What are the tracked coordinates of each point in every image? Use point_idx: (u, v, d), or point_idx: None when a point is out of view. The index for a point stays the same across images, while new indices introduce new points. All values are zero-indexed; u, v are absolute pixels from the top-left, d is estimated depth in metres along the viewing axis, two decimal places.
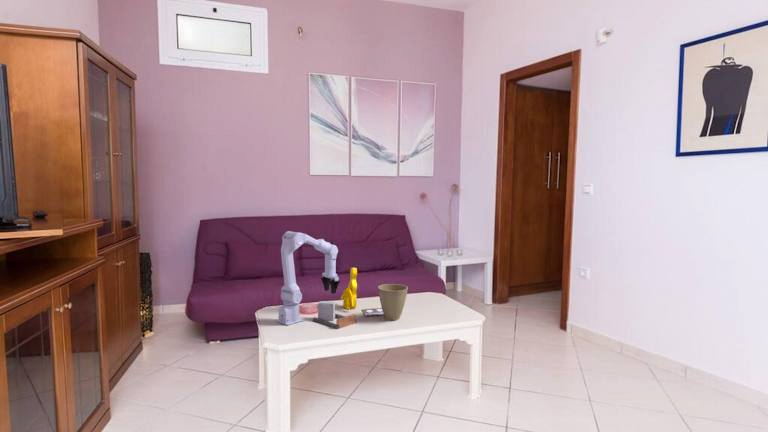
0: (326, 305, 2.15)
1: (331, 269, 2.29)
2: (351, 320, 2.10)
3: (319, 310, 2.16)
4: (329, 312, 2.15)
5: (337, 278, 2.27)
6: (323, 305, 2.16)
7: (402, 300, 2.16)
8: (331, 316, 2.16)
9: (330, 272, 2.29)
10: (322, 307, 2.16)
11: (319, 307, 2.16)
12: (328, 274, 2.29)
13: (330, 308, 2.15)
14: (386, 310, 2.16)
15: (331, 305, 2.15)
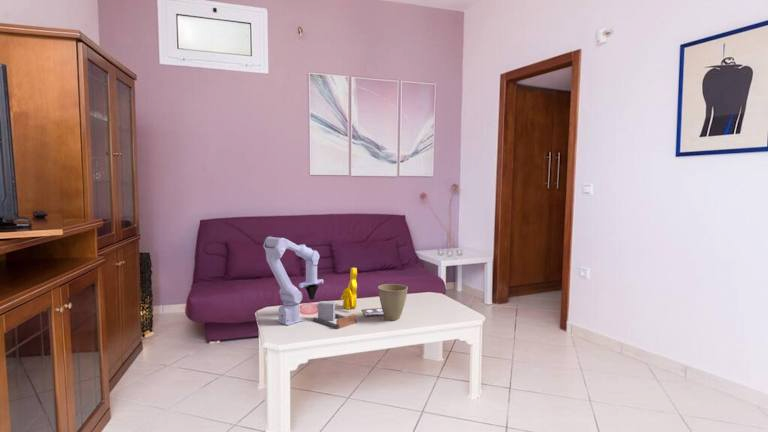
0: (326, 305, 2.15)
1: (306, 275, 2.23)
2: (351, 320, 2.10)
3: (319, 310, 2.16)
4: (329, 312, 2.15)
5: (300, 285, 2.19)
6: (323, 305, 2.16)
7: (402, 300, 2.16)
8: (331, 316, 2.16)
9: (306, 278, 2.23)
10: (322, 307, 2.16)
11: (319, 307, 2.16)
12: (306, 280, 2.25)
13: (330, 308, 2.15)
14: (386, 310, 2.16)
15: (331, 305, 2.15)
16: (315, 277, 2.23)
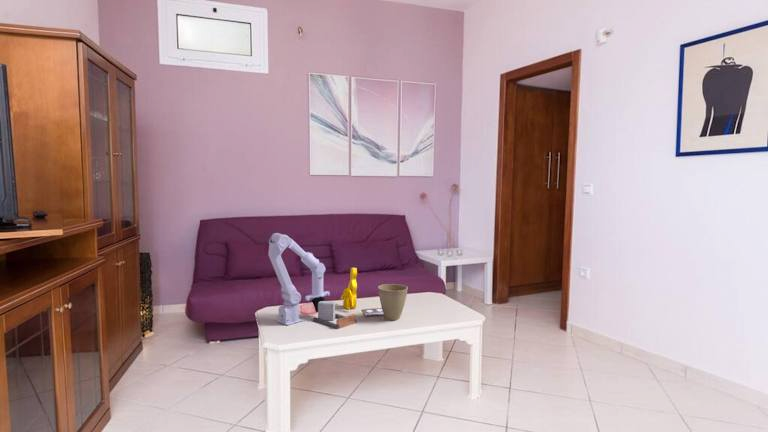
0: (326, 305, 2.15)
1: (312, 288, 2.20)
2: (351, 320, 2.10)
3: (319, 310, 2.16)
4: (329, 312, 2.15)
5: (306, 297, 2.16)
6: (323, 305, 2.15)
7: (402, 300, 2.16)
8: (331, 316, 2.16)
9: (312, 290, 2.21)
10: (322, 307, 2.16)
11: (319, 307, 2.16)
12: (312, 292, 2.22)
13: (330, 308, 2.15)
14: (386, 310, 2.16)
15: (331, 305, 2.15)
16: (321, 289, 2.20)
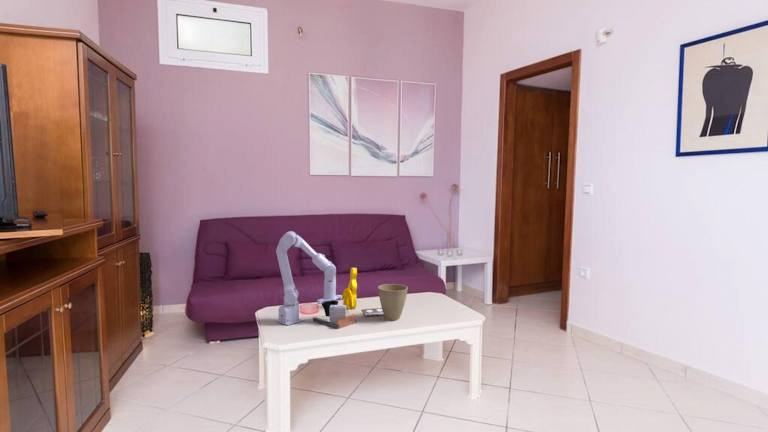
0: (338, 309, 2.09)
1: (324, 291, 2.14)
2: (351, 320, 2.10)
3: (331, 314, 2.09)
4: (341, 316, 2.09)
5: (318, 301, 2.10)
6: (335, 309, 2.09)
7: (402, 300, 2.16)
8: None
9: (324, 294, 2.14)
10: (334, 311, 2.09)
11: (331, 311, 2.09)
12: (324, 295, 2.15)
13: (342, 312, 2.09)
14: (386, 310, 2.16)
15: (343, 309, 2.09)
16: (334, 293, 2.14)
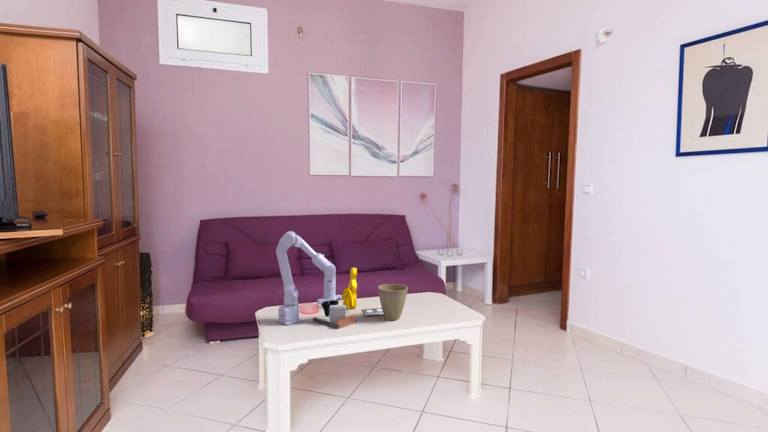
0: (338, 309, 2.09)
1: (324, 291, 2.14)
2: (351, 320, 2.10)
3: (331, 314, 2.09)
4: (341, 316, 2.09)
5: (318, 301, 2.10)
6: (335, 309, 2.09)
7: (402, 300, 2.16)
8: None
9: (324, 294, 2.14)
10: (334, 311, 2.09)
11: (331, 311, 2.09)
12: (324, 295, 2.15)
13: (342, 312, 2.09)
14: (386, 310, 2.16)
15: (343, 309, 2.09)
16: (333, 293, 2.14)
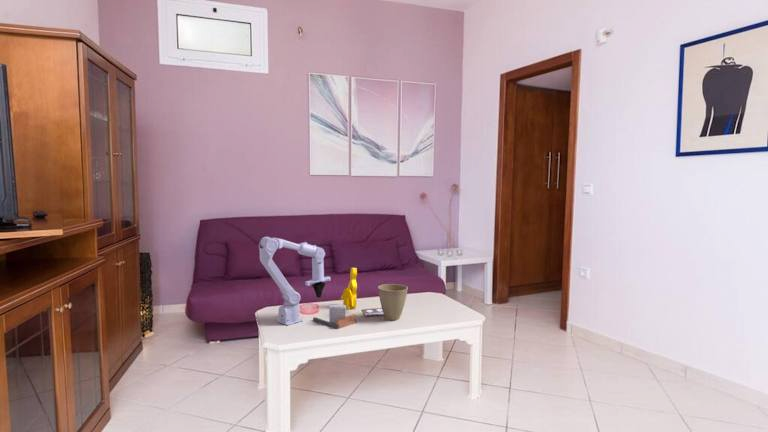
0: (338, 309, 2.09)
1: (312, 273, 2.18)
2: (351, 320, 2.10)
3: (331, 314, 2.09)
4: (341, 316, 2.09)
5: (307, 283, 2.15)
6: (335, 309, 2.09)
7: (402, 300, 2.16)
8: None
9: (312, 276, 2.19)
10: (334, 311, 2.09)
11: (331, 311, 2.09)
12: None
13: (342, 312, 2.09)
14: (386, 310, 2.16)
15: (343, 309, 2.09)
16: (322, 274, 2.18)
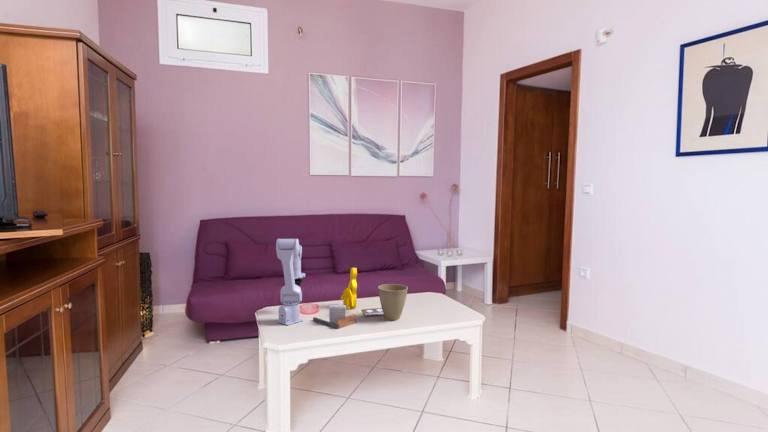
0: (338, 309, 2.09)
1: None
2: (351, 320, 2.10)
3: (331, 314, 2.09)
4: (341, 316, 2.09)
5: None
6: (335, 309, 2.09)
7: (402, 300, 2.16)
8: None
9: None
10: (334, 311, 2.09)
11: (331, 311, 2.09)
12: None
13: (342, 312, 2.09)
14: (386, 310, 2.16)
15: (343, 309, 2.09)
16: (300, 271, 2.26)
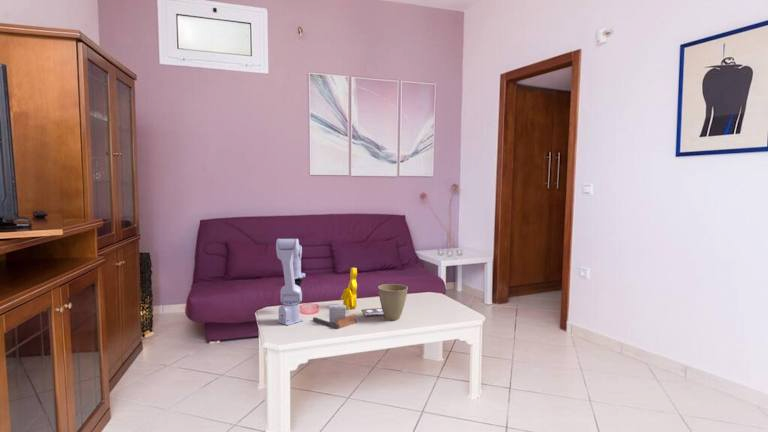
0: (338, 309, 2.09)
1: None
2: (351, 320, 2.10)
3: (331, 314, 2.09)
4: (341, 316, 2.09)
5: None
6: (335, 309, 2.09)
7: (402, 300, 2.16)
8: None
9: None
10: (334, 311, 2.09)
11: (331, 311, 2.09)
12: None
13: (342, 312, 2.09)
14: (386, 310, 2.16)
15: (343, 309, 2.09)
16: (300, 271, 2.26)
